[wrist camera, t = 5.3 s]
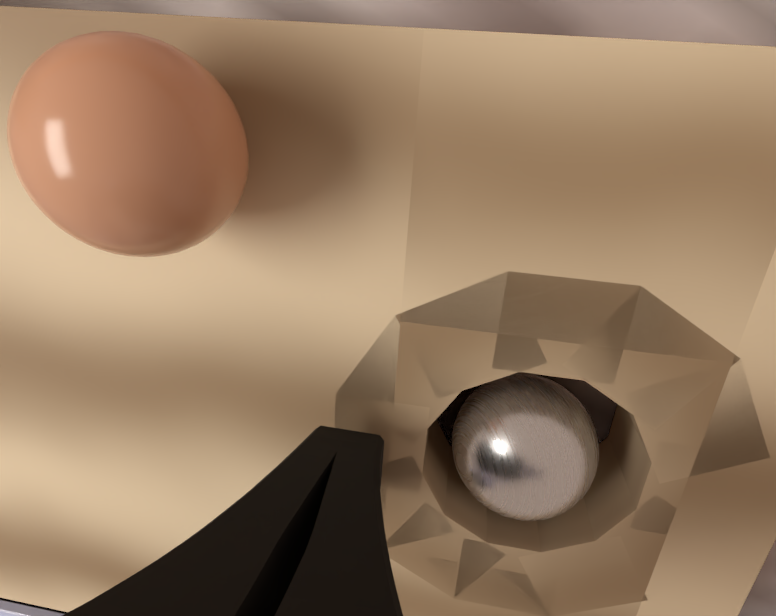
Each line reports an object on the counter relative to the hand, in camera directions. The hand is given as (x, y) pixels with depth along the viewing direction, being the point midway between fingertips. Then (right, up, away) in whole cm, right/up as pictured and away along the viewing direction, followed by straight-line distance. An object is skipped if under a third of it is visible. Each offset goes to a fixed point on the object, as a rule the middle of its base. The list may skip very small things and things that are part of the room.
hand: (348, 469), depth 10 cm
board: (-1, +1, +3) cm, 4 cm away
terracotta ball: (-3, +6, -3) cm, 7 cm away
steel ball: (+4, 0, +1) cm, 4 cm away
